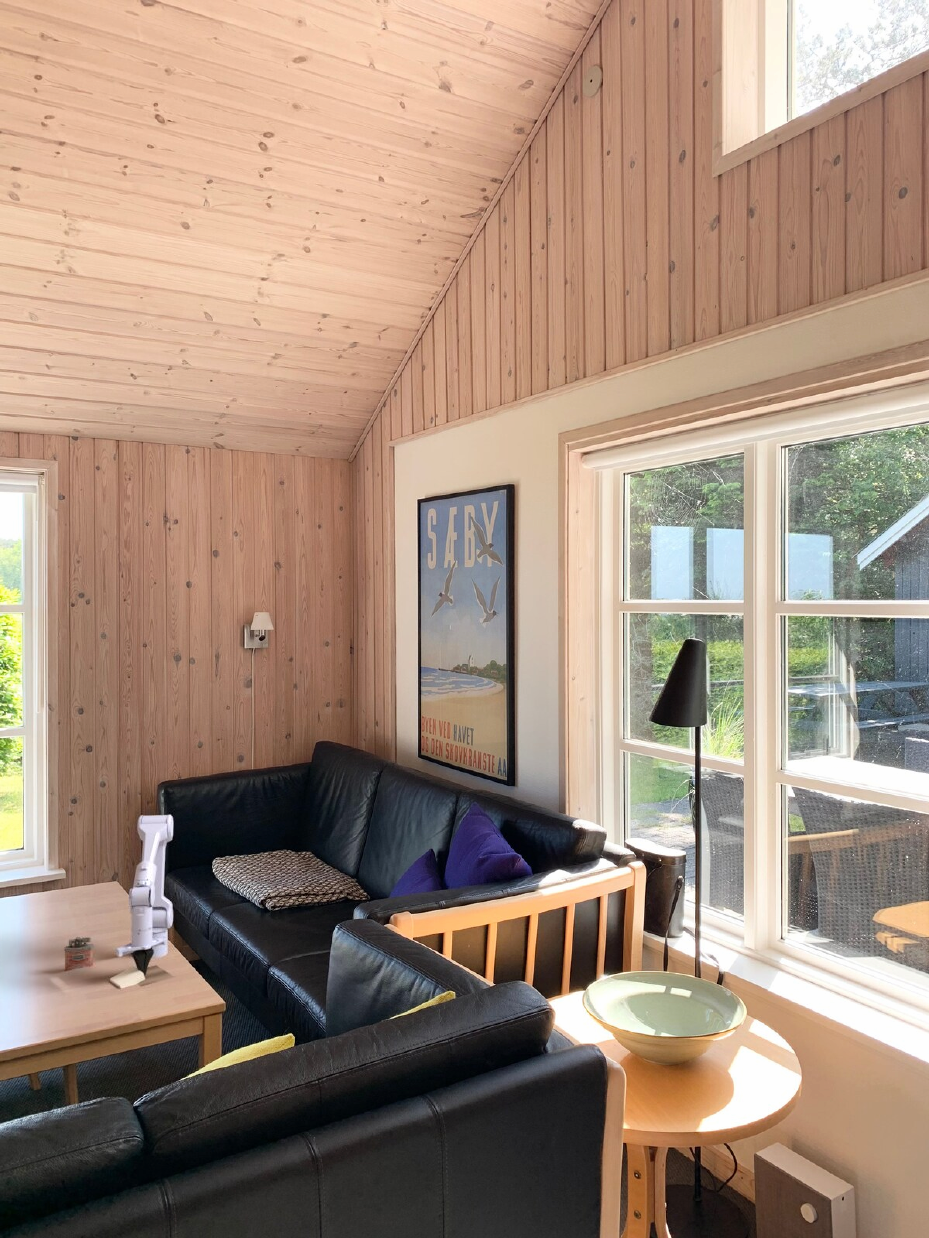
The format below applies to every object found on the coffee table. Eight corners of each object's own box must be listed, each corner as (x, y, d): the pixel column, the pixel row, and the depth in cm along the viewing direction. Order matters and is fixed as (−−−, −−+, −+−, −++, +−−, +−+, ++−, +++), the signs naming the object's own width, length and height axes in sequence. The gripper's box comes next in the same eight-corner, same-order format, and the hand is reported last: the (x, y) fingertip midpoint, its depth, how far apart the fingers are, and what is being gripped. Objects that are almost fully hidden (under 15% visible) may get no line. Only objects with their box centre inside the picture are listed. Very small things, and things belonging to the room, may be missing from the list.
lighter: (63, 974, 273) (63, 940, 273) (65, 970, 276) (65, 937, 276) (92, 971, 275) (92, 938, 275) (94, 967, 278) (94, 934, 278)
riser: (123, 979, 270) (123, 974, 270) (156, 970, 277) (156, 965, 277) (141, 991, 261) (141, 986, 261) (174, 981, 268) (174, 976, 268)
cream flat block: (111, 984, 265) (109, 978, 264) (134, 972, 269) (132, 966, 269) (122, 992, 260) (120, 985, 259) (145, 979, 264) (143, 972, 264)
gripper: (123, 937, 259) (123, 985, 259) (172, 925, 269) (172, 971, 269) (112, 931, 264) (113, 978, 265) (161, 919, 274) (161, 965, 275)
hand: (142, 974), depth 267 cm, fingers closed
